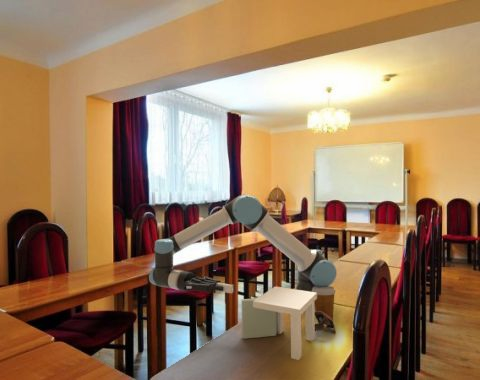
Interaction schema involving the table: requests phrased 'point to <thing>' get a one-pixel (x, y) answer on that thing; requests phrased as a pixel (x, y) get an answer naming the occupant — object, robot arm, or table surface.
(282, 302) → the stool
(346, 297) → the table surface
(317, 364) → the table surface
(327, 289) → the disposable coffee cup
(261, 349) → the table surface
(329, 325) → the brown curved piece
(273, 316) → the panel
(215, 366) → the table surface
